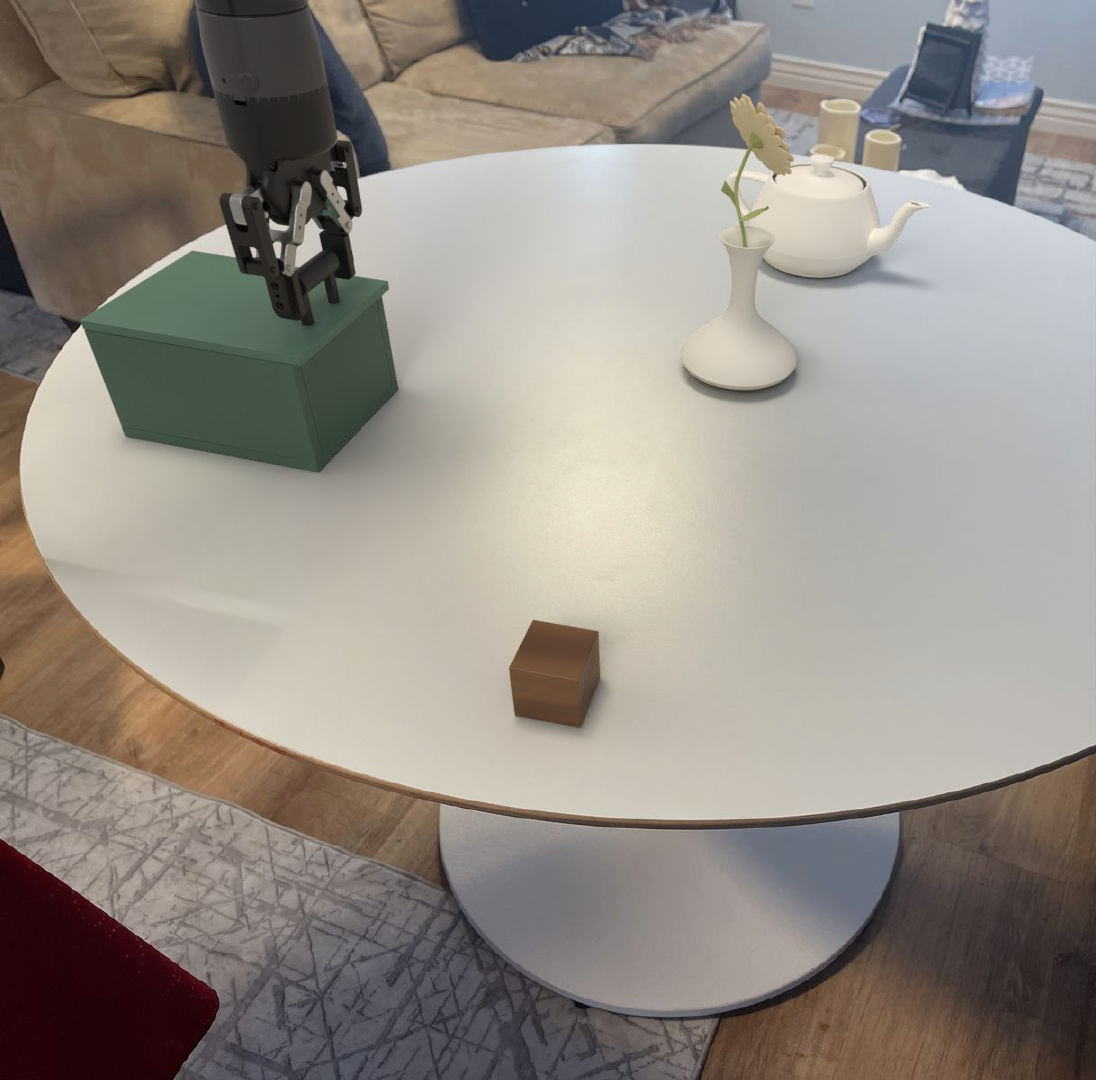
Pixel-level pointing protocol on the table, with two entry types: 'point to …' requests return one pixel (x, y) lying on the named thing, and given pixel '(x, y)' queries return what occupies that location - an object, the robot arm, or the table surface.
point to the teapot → (821, 218)
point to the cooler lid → (237, 308)
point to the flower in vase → (745, 281)
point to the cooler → (251, 394)
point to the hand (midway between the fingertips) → (317, 296)
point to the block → (555, 673)
